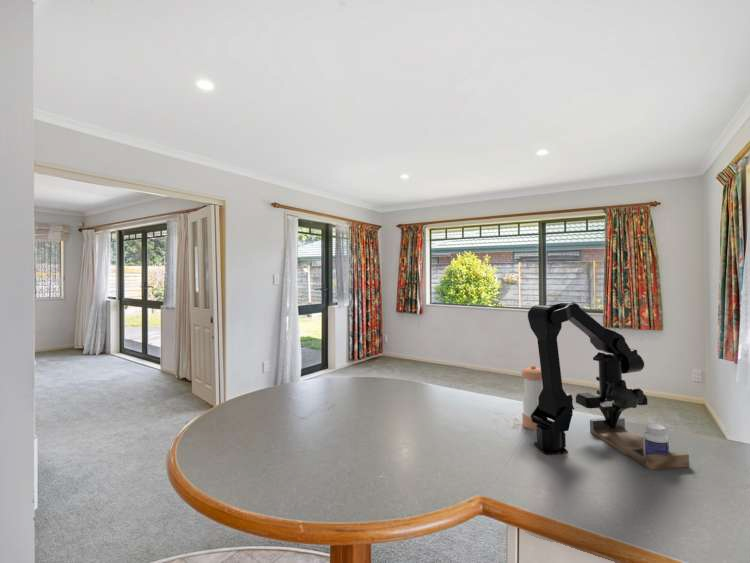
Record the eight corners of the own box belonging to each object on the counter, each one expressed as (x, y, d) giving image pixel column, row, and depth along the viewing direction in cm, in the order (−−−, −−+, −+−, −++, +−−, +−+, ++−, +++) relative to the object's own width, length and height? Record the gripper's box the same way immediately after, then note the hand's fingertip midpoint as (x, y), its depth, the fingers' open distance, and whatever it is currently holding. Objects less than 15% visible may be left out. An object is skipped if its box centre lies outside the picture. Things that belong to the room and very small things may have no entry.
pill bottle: (673, 466, 93) (672, 430, 93) (649, 465, 94) (648, 429, 94) (662, 456, 99) (661, 422, 98) (639, 455, 100) (638, 421, 100)
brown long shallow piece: (651, 470, 92) (650, 453, 92) (590, 432, 114) (589, 419, 114) (689, 466, 93) (688, 450, 93) (621, 430, 115) (620, 416, 115)
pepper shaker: (522, 428, 119) (520, 367, 119) (522, 420, 126) (521, 362, 126) (547, 431, 117) (546, 369, 116) (546, 422, 123) (545, 363, 123)
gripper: (598, 384, 103) (600, 441, 103) (662, 380, 105) (664, 437, 105) (573, 374, 114) (575, 426, 114) (632, 371, 116) (634, 422, 116)
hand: (612, 428), depth 112 cm, fingers closed, pressing on brown long shallow piece
